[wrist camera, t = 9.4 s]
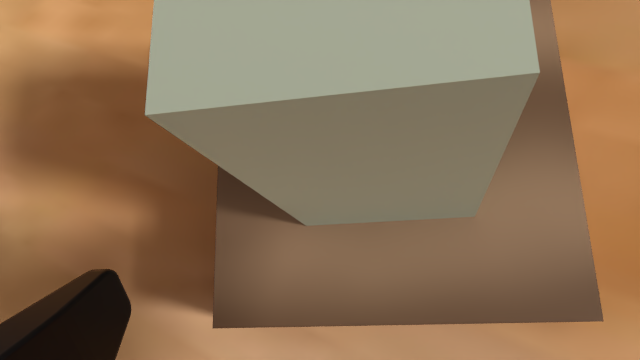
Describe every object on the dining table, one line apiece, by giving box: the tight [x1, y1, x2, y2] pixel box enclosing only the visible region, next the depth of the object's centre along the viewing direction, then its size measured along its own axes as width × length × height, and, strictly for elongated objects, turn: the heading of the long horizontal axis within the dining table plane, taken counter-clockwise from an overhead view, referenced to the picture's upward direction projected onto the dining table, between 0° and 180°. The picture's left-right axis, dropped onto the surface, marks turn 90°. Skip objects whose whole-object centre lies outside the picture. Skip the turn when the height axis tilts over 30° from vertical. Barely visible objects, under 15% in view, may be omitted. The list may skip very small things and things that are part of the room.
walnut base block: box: [213, 0, 603, 328], centre depth 19 cm, size 12×12×4 cm
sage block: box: [145, 0, 540, 226], centre depth 12 cm, size 6×6×10 cm
